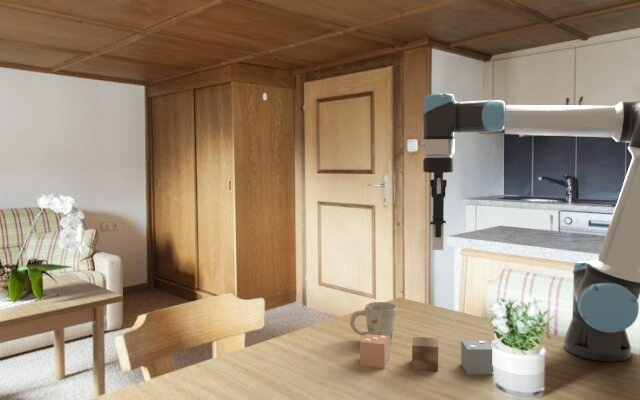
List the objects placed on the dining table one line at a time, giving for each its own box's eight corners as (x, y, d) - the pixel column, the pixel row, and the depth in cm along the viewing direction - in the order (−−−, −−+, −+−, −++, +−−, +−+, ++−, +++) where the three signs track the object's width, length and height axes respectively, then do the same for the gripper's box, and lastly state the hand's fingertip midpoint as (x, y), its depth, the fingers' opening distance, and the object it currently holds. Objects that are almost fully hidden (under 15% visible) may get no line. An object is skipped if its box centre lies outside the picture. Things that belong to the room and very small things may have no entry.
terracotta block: (389, 359, 132) (389, 335, 132) (384, 368, 127) (384, 343, 126) (366, 356, 134) (366, 332, 134) (360, 365, 129) (360, 340, 128)
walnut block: (437, 362, 130) (437, 338, 130) (438, 371, 125) (438, 347, 124) (412, 360, 132) (412, 336, 131) (412, 370, 126) (412, 345, 125)
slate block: (486, 364, 129) (486, 339, 128) (493, 374, 123) (493, 348, 122) (461, 364, 129) (461, 339, 128) (467, 374, 123) (467, 348, 122)
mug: (395, 348, 139) (395, 311, 138) (347, 345, 142) (347, 309, 141) (396, 337, 147) (397, 302, 146) (351, 335, 150) (351, 300, 149)
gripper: (423, 156, 141) (423, 244, 143) (423, 157, 128) (422, 253, 130) (452, 156, 139) (451, 245, 142) (455, 156, 127) (454, 254, 129)
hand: (437, 249), depth 136 cm, fingers closed
